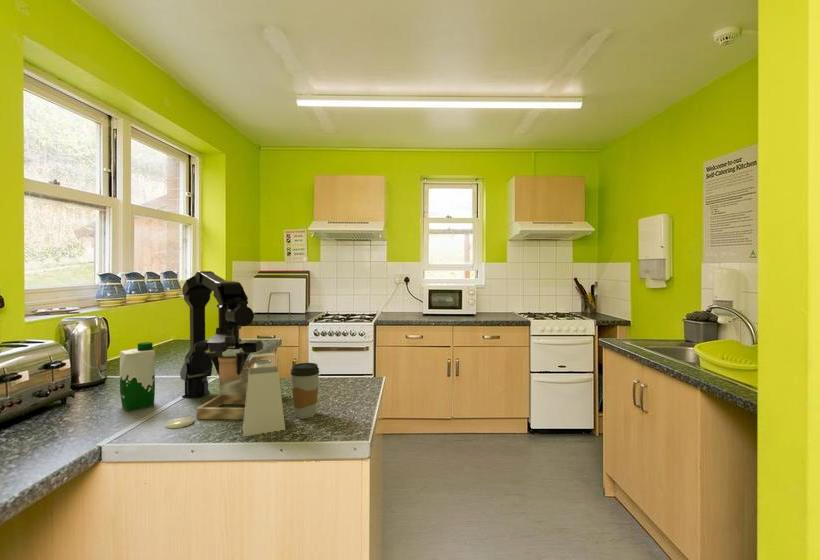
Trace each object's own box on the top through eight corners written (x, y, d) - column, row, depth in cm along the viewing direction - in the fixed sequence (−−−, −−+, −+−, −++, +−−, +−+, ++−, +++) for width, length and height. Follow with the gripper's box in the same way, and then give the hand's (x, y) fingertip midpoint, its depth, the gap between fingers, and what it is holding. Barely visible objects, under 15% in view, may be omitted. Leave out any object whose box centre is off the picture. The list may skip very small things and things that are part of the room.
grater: (243, 422, 113) (242, 352, 112) (281, 417, 117) (281, 350, 116) (243, 436, 103) (243, 360, 103) (285, 430, 107) (285, 357, 107)
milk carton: (158, 406, 127) (157, 344, 126) (124, 413, 120) (123, 347, 120) (150, 400, 133) (149, 340, 132) (117, 406, 126) (116, 344, 126)
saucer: (159, 428, 108) (159, 426, 108) (175, 419, 115) (175, 417, 115) (184, 428, 108) (184, 426, 108) (198, 419, 115) (198, 417, 115)
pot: (213, 382, 117) (213, 358, 117) (224, 376, 123) (224, 353, 123) (234, 382, 117) (234, 358, 116) (243, 376, 123) (243, 354, 123)
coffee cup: (324, 412, 121) (324, 363, 121) (309, 421, 113) (309, 369, 113) (301, 409, 124) (301, 361, 124) (284, 418, 116) (284, 367, 116)
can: (276, 393, 140) (276, 359, 140) (268, 399, 134) (268, 363, 133) (259, 392, 141) (259, 359, 141) (250, 398, 134) (250, 363, 134)
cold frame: (196, 418, 116) (196, 379, 115) (221, 402, 130) (220, 367, 129) (250, 419, 115) (250, 379, 115) (269, 403, 129) (268, 368, 129)
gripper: (182, 326, 112) (183, 381, 112) (247, 327, 111) (248, 382, 111) (204, 321, 123) (204, 371, 123) (263, 322, 122) (263, 372, 123)
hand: (229, 374), depth 120 cm, fingers closed on pot, 6 cm apart
